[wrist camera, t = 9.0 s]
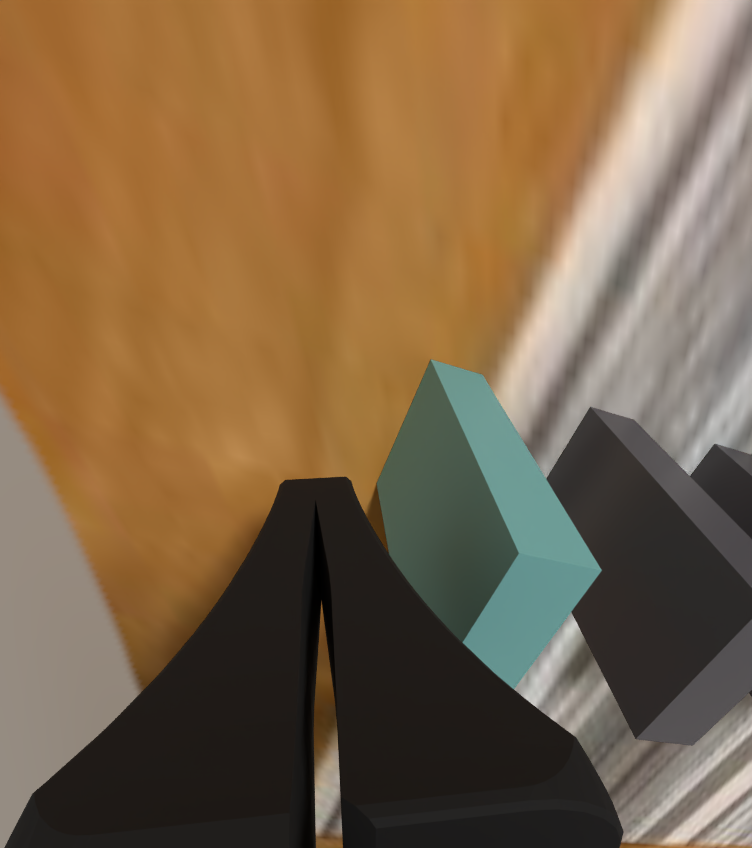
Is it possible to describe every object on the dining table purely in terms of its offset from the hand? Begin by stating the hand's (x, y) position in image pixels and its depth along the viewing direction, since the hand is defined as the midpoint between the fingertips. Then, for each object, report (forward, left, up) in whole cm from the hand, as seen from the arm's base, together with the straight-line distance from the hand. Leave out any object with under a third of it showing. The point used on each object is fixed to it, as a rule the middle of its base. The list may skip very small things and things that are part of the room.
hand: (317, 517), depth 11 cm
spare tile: (-3, +2, -5) cm, 6 cm away
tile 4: (-7, +5, -5) cm, 10 cm away
